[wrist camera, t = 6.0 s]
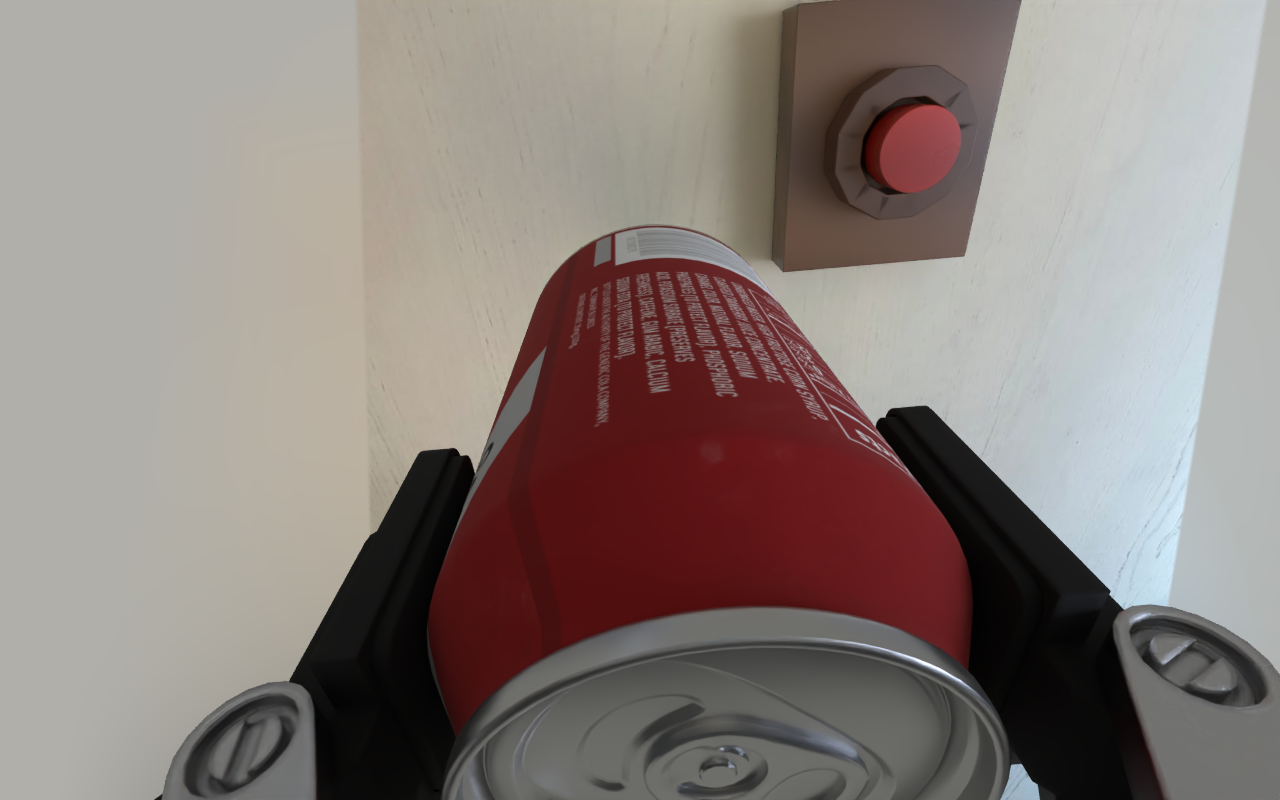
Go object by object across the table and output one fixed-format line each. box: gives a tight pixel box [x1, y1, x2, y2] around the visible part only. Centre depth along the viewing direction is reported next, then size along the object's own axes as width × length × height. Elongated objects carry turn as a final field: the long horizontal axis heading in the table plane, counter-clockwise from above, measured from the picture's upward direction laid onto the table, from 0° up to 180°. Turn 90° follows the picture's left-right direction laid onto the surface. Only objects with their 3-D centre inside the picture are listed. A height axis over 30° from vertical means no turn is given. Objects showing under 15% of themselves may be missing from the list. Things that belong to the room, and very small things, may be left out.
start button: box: [865, 104, 961, 193], centre depth 25 cm, size 4×4×2 cm
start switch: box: [772, 0, 1021, 272], centre depth 27 cm, size 12×10×4 cm
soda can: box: [427, 224, 1011, 800], centre depth 11 cm, size 7×7×12 cm
